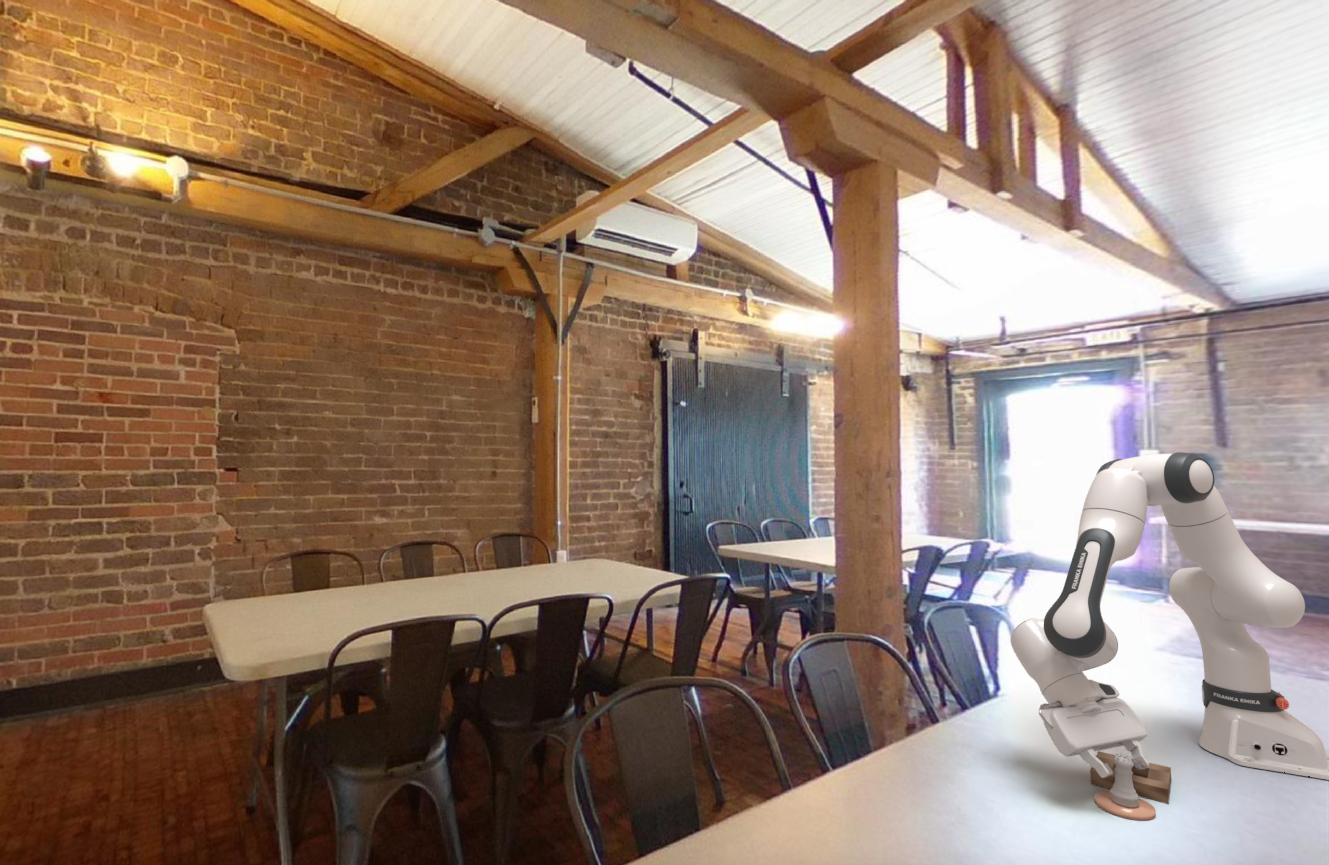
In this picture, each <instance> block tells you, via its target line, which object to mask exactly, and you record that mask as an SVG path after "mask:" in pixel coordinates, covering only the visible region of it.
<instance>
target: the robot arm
mask: <svg viewBox="0 0 1329 865" xmlns="http://www.w3.org/2000/svg"><path fill="white" fill-rule="evenodd" d="M1213 470H1214V469H1213V468H1212V466H1211V464H1210V463H1209V462H1208V461H1206V459H1205V458H1203V457H1202V456H1201V455H1199V454H1196V453H1192V452H1182V451H1178V452H1173V453H1150V454H1149V453H1148V454H1144V455H1141V456H1140V455H1138V456H1132V457H1127V458H1124V459H1122V458H1118V459H1114V460H1110V461H1107V462H1105V463H1103V464H1102V465H1101V466H1100V467H1099V469H1098V470H1097V472H1096V474H1095V476H1094V477H1093V478H1094V479H1093V480H1092V483H1091V484H1090V487H1089V489H1088V491H1087V494H1086V497H1085V499H1084V500H1085V501H1084V503H1083V507H1082V511H1081V514H1080V520H1079V525H1078V532H1077V540H1076V545H1075V550H1074V552H1073V554H1072V559H1071V562H1070V565H1069V567H1068V571H1067V575H1066V578H1065V582H1064V584H1063V588H1062V591H1061V593H1060V595H1059V596H1058V597H1057V599H1056V600H1055V602H1053V604H1052V605H1051V606H1050V608H1049V609H1048V611H1047V612H1046V614H1045V616H1044V618H1043V619H1039V618H1035V617H1031V618H1029V619H1027V620H1024V621H1023V622H1021V623H1020V624H1017V626H1016V627H1015V629H1013V631H1012V633H1011V635H1010V645H1011V647H1012V650H1013V652H1014V654H1015V655H1016V658H1017V659H1018V661H1019V662H1020V664H1021V666H1022V667H1023V668H1024V670H1025V671H1026V672H1025V673H1027V674H1028V676H1029V677H1030V678H1031V679H1033V680H1034V682H1035V683H1036V684H1037V686H1038V688H1039V691H1040V693H1041V695H1042V696H1043V698H1044V699H1045V700H1046V702H1047V703H1043V704H1040V705H1039V708H1038V715H1039V717H1040V718H1041V720H1042V721H1043V725H1044V728H1045V729H1046V731H1047V734H1048V735H1049V737H1050V740H1051V741H1052V742H1053V744H1054V746H1055V748H1056V749H1057V751H1058V752H1059V753H1061V754H1062V755H1063V756H1064V757H1073V756H1078V755H1079V756H1080V758H1081V759H1082V760H1083V761H1084V762H1085V763H1086V764H1088V766H1091V767H1093V768H1094V769H1095V770H1096V771H1097V772H1098V774H1099V775H1100V777H1101V778H1105V777H1109V776H1110V775H1112V774H1113V771H1112V770H1111V769H1110V767H1109V765H1108V764H1107V763H1105V764H1104V763H1103V762H1101V761H1100V760H1099V759H1098V758H1097V757H1096V755H1097V753H1096V752H1098V751H1103V750H1108V749H1113V748H1119V747H1123V746H1124V748H1125V750H1127V752H1129V751H1130V753H1131V756H1132V759H1134V760H1132V762H1133V764H1134V765H1135V766H1136V768H1137V769H1138V770H1142V769H1146V768H1147V767H1149V763H1150V762H1149V761H1148V760H1147V759H1146V758H1145V756H1144V753H1143V749H1142V745H1141V743H1140V741H1141V742H1142V740H1144V739H1145V738H1146V737H1148V731H1147V727H1146V726H1145V725H1144V723H1143V722H1142V721H1141V719H1140V718H1139V717H1138V715H1137V714H1136V712H1134V710H1133V709H1132V707H1131V706H1129V704H1128V703H1127V702H1126V701H1125V700H1124V699H1121V698H1119V696H1120V692H1119V690H1118V689H1117V688H1116V687H1115V686H1114V685H1111V684H1108V683H1103V682H1099V681H1096V680H1093V679H1088V677H1087V676H1086V675H1085V673H1084V671H1089V670H1093V669H1095V668H1099V667H1101V666H1104V665H1107V664H1109V663H1110V662H1111V661H1113V659H1115V657H1116V655H1117V653H1118V650H1119V642H1118V637H1117V636H1116V634H1115V632H1114V631H1113V630H1112V629H1111V628H1110V626H1109V625H1108V624H1107V623H1106V622H1105V621H1104V619H1103V616H1102V611H1101V603H1102V600H1103V599H1102V598H1103V595H1104V591H1105V587H1106V584H1107V581H1108V577H1109V573H1110V571H1111V568H1112V566H1113V565H1114V564H1115V563H1116V562H1119V561H1124V560H1126V559H1128V558H1132V556H1134V555H1135V553H1136V551H1137V550H1138V547H1139V545H1140V543H1141V541H1142V538H1143V535H1144V531H1145V525H1146V520H1147V512H1148V511H1147V510H1148V507H1156V506H1157V507H1158V506H1160V507H1161V510H1162V513H1163V516H1164V518H1165V520H1166V523H1167V525H1168V528H1169V529H1170V532H1171V534H1172V536H1173V539H1174V541H1175V543H1176V546H1177V547H1178V550H1179V552H1180V553H1181V554H1182V555H1183V557H1185V558H1186V560H1188V561H1190V562H1192V563H1193V564H1195V565H1197V566H1195V567H1194V566H1193V567H1183V568H1180V569H1177V571H1175V572H1174V573H1173V574H1172V576H1171V577H1170V579H1169V583H1168V591H1169V594H1170V598H1171V599H1172V601H1173V602H1174V603H1175V604H1176V605H1177V606H1179V607H1180V609H1181V610H1182V611H1183V612H1184V613H1185V614H1186V615H1187V617H1188V618H1189V620H1190V622H1191V624H1192V626H1193V627H1194V628H1193V629H1194V630H1195V632H1196V634H1197V637H1198V639H1199V642H1200V646H1201V652H1202V653H1201V654H1202V662H1203V676H1204V678H1203V680H1202V682H1201V683H1202V684H1201V697H1202V699H1201V700H1202V703H1203V706H1204V714H1203V715H1204V716H1203V721H1202V722H1203V724H1202V729H1201V733H1200V737H1199V740H1198V745H1199V746H1200V747H1202V748H1203V749H1205V750H1206V751H1207V752H1210V753H1212V754H1215V755H1216V756H1219V757H1222V758H1225V759H1227V760H1229V761H1230V762H1232V763H1234V764H1236V765H1239V766H1243V767H1248V768H1253V769H1254V768H1255V769H1260V770H1266V771H1273V772H1279V773H1284V772H1285V774H1290V775H1296V776H1304V777H1308V776H1310V778H1314V779H1322V780H1326V781H1329V756H1328V755H1327V753H1326V749H1325V746H1324V744H1323V742H1322V740H1321V738H1320V737H1319V735H1318V734H1317V733H1316V732H1315V731H1314V730H1312V729H1311V728H1310V727H1308V726H1307V725H1306V724H1304V723H1303V722H1302V721H1300V720H1299V719H1298V718H1297V717H1295V716H1294V715H1293V714H1291V713H1289V712H1288V711H1286V710H1288V708H1290V703H1289V701H1288V699H1286V697H1285V696H1283V695H1282V694H1281V693H1280V691H1278V692H1277V691H1275V690H1274V689H1272V680H1271V679H1272V678H1271V667H1270V666H1271V665H1270V656H1269V653H1268V652H1267V651H1266V649H1265V647H1263V646H1262V645H1261V644H1260V643H1258V642H1257V641H1256V640H1255V639H1254V638H1253V637H1252V636H1251V635H1250V633H1249V631H1248V630H1247V629H1246V626H1245V625H1249V626H1254V627H1259V628H1271V629H1273V628H1275V629H1278V628H1279V629H1285V628H1291V627H1293V626H1296V624H1299V622H1300V621H1301V620H1302V618H1303V616H1304V614H1305V610H1306V603H1305V602H1306V601H1305V599H1304V596H1303V594H1302V593H1301V591H1300V590H1299V588H1298V587H1297V586H1295V585H1294V584H1292V582H1289V581H1287V580H1285V579H1284V578H1282V577H1280V576H1279V575H1277V574H1276V573H1275V572H1274V571H1272V570H1271V569H1269V568H1268V567H1267V566H1266V565H1265V564H1264V563H1263V562H1262V561H1261V560H1260V559H1259V558H1258V557H1257V556H1256V555H1255V554H1254V553H1253V552H1252V550H1250V548H1249V547H1248V546H1247V544H1246V543H1245V542H1244V540H1243V538H1242V537H1241V535H1240V533H1239V530H1238V529H1237V527H1236V524H1235V523H1234V521H1233V518H1232V516H1231V514H1230V512H1229V509H1228V507H1227V505H1226V504H1225V501H1224V500H1223V497H1222V496H1221V494H1220V492H1219V490H1218V488H1216V486H1215V474H1214V471H1213ZM1148 762H1149V763H1148ZM1091 767H1090V768H1091Z"/></svg>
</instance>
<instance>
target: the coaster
mask: <svg viewBox="0 0 1329 865" xmlns="http://www.w3.org/2000/svg"><path fill="white" fill-rule="evenodd" d="M1110 795H1112V794H1111V793H1110V790H1108V791H1107V790H1106V791H1103V790H1102V791H1098V792H1097V793H1095V794H1094V803H1095V805H1096V804H1097V805H1096V806H1097V807H1098V806H1099V807H1098V808H1099V809H1101V808H1102V809H1101V810H1103V811H1104V810H1105V812H1106V813H1108V812H1109V813H1108V814H1111V815H1112V816H1116V817H1120V818H1123V819H1127V820H1131V821H1141V822H1143V821H1151V820H1154V819H1155V818H1156V816H1157V813H1156V812H1157V811H1156V807H1154V806H1153V805H1152V803H1150V802H1149V801H1146V800H1145V799H1143V798H1140V797H1139V799H1138V801H1139V803H1140V804H1139V805H1138V806H1137V807H1136V808H1127V807H1123V806H1120V805H1118V804H1116V803H1114V802H1113V801H1112V800H1111V798H1110Z"/></svg>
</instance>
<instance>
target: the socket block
mask: <svg viewBox="0 0 1329 865" xmlns="http://www.w3.org/2000/svg"><path fill="white" fill-rule="evenodd" d="M1095 756H1096V757H1097V758H1098V759H1099V760H1100V761H1101V762H1103V763H1104V764H1105V763H1107V764H1108V765H1109V767H1110V769H1111V770H1112V771H1113V774H1112V775H1110V776H1109V777H1105V778H1101V777H1100V775H1099V774H1098V772H1097V771H1096V770H1095V769H1094V768H1093V767H1090V770H1089V771H1090V772H1089V777H1090V778H1089V779H1090V784H1091V785H1094V786H1097V785H1100V786H1099V787H1101V786H1103V787H1102V788H1105V789H1109V788H1110V790H1111V788H1113V785H1114V783H1115V776H1116V771H1115V770H1114V769H1115V767H1116V765H1115V764H1114V762H1113V761H1112V760H1113V759H1114V758H1115V754H1113V753H1107V752H1104V751H1101V750H1099V751H1097V753H1096V754H1095ZM1119 757H1120V755H1119ZM1124 758H1126V756H1124ZM1131 759H1132V760H1134V759H1133V758H1131ZM1147 762H1148V763H1149V767H1147V768H1146V769H1142V770H1138V769H1137V768H1136V766H1135V765H1134V766H1133V767H1132V768H1131V771H1132V772H1133V774H1132V782H1133V787H1134V789H1135V790H1136V793H1137V794H1138V797H1139V798H1140V797H1141V798H1144V799H1148V800H1154V801H1157V802H1161V803H1164V804H1169V802H1170V793H1171V787H1172V786H1171V785H1172V767H1171V766H1167V765H1161V764H1158V763H1152V762H1149V761H1147Z"/></svg>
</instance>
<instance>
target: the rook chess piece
mask: <svg viewBox="0 0 1329 865" xmlns="http://www.w3.org/2000/svg"><path fill="white" fill-rule="evenodd" d="M1114 755H1115V758H1114V759H1113V760H1112V761H1113V762H1114V764H1115V765H1116V767H1115V769H1114V770H1115V771H1116V776H1115V783H1114V785H1113V788H1111V789H1110V790H1109V791H1110V793H1111V794H1112V795H1110V798H1111V800H1112V801H1113V802H1114V803H1116V804H1118V805H1120V806H1123V807H1127V808H1136V807H1137V806H1138V805H1139V804H1140V803H1139V801H1138V799H1139V798H1140V796H1138V794H1137V793H1136V790H1135V789H1134V787H1133V782H1132V774H1133V772H1132V771H1131V768H1132V767H1133V766H1134V764H1133V762H1132V759H1133V758H1131V757H1130V756H1128V755H1126V756H1125V755H1124V754H1118V753H1117V754H1114ZM1119 756H1120V757H1119ZM1124 757H1126V758H1124Z"/></svg>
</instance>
